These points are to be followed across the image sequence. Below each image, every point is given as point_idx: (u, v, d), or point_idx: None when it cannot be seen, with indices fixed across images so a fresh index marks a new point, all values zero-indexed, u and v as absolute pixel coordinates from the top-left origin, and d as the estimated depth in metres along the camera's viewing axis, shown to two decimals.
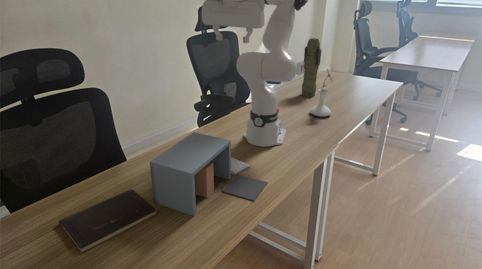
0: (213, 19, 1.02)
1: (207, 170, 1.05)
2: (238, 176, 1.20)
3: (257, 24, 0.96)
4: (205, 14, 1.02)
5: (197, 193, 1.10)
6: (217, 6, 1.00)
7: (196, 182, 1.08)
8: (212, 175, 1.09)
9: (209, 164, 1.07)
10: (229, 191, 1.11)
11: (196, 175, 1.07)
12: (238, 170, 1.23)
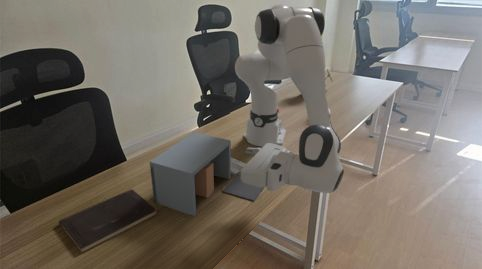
0: None
1: (207, 170, 1.05)
2: (238, 176, 1.20)
3: None
4: None
5: (197, 193, 1.10)
6: None
7: (196, 182, 1.08)
8: (212, 175, 1.09)
9: (209, 164, 1.07)
10: (229, 191, 1.11)
11: (196, 175, 1.07)
12: (238, 170, 1.23)
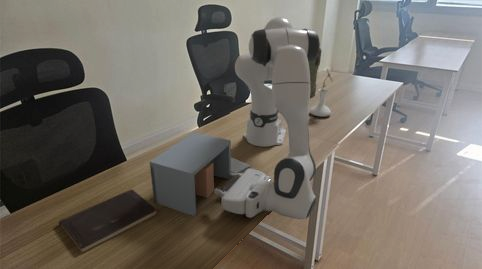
0: None
1: (207, 170, 1.05)
2: None
3: None
4: None
5: (197, 193, 1.10)
6: None
7: (196, 182, 1.08)
8: (212, 175, 1.09)
9: (209, 164, 1.07)
10: None
11: (196, 175, 1.07)
12: (238, 170, 1.23)
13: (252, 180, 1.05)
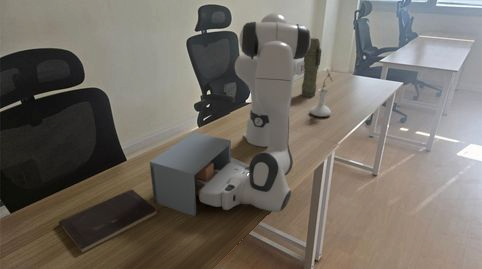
0: None
1: (207, 170, 1.05)
2: None
3: None
4: None
5: (197, 193, 1.10)
6: None
7: None
8: (212, 175, 1.09)
9: (209, 164, 1.07)
10: None
11: (196, 175, 1.07)
12: None
13: (231, 174, 1.08)
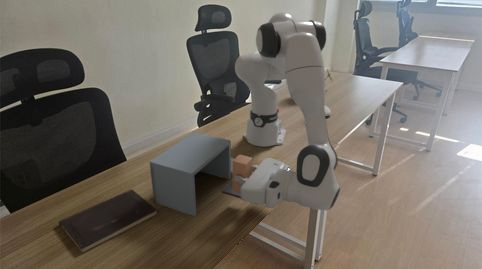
0: None
1: (247, 165, 0.98)
2: None
3: None
4: None
5: (234, 190, 1.03)
6: None
7: (234, 178, 1.01)
8: (251, 171, 1.02)
9: (248, 159, 1.00)
10: (229, 191, 1.11)
11: (234, 171, 1.00)
12: None
13: (271, 170, 1.01)
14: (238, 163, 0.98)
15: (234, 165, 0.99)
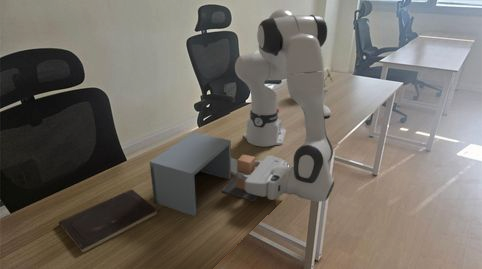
0: None
1: (250, 164, 1.08)
2: None
3: None
4: None
5: (238, 186, 1.13)
6: None
7: None
8: (253, 169, 1.12)
9: (251, 158, 1.10)
10: (229, 191, 1.11)
11: (239, 169, 1.10)
12: None
13: (272, 166, 1.10)
14: (242, 162, 1.08)
15: (239, 163, 1.09)
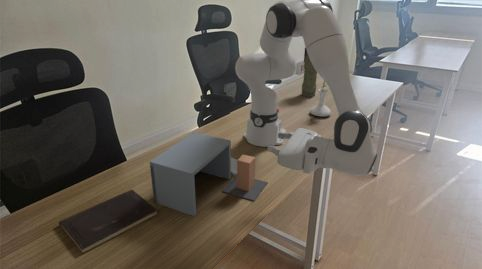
0: None
1: (250, 164, 1.08)
2: None
3: None
4: None
5: (238, 187, 1.13)
6: None
7: (238, 176, 1.11)
8: (253, 169, 1.12)
9: (251, 158, 1.10)
10: (229, 191, 1.11)
11: (239, 169, 1.10)
12: None
13: (305, 138, 1.02)
14: (242, 162, 1.08)
15: (238, 164, 1.09)
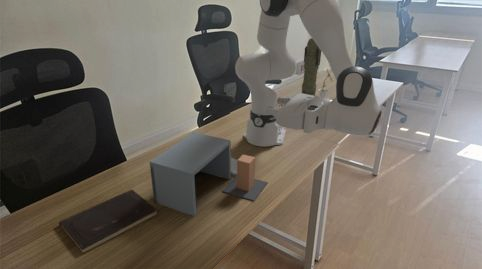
0: None
1: (250, 164, 1.08)
2: None
3: None
4: None
5: (238, 187, 1.13)
6: None
7: (238, 176, 1.11)
8: (253, 169, 1.12)
9: (251, 158, 1.10)
10: (229, 191, 1.11)
11: (239, 169, 1.10)
12: None
13: (305, 101, 0.97)
14: (242, 162, 1.08)
15: (238, 164, 1.09)
